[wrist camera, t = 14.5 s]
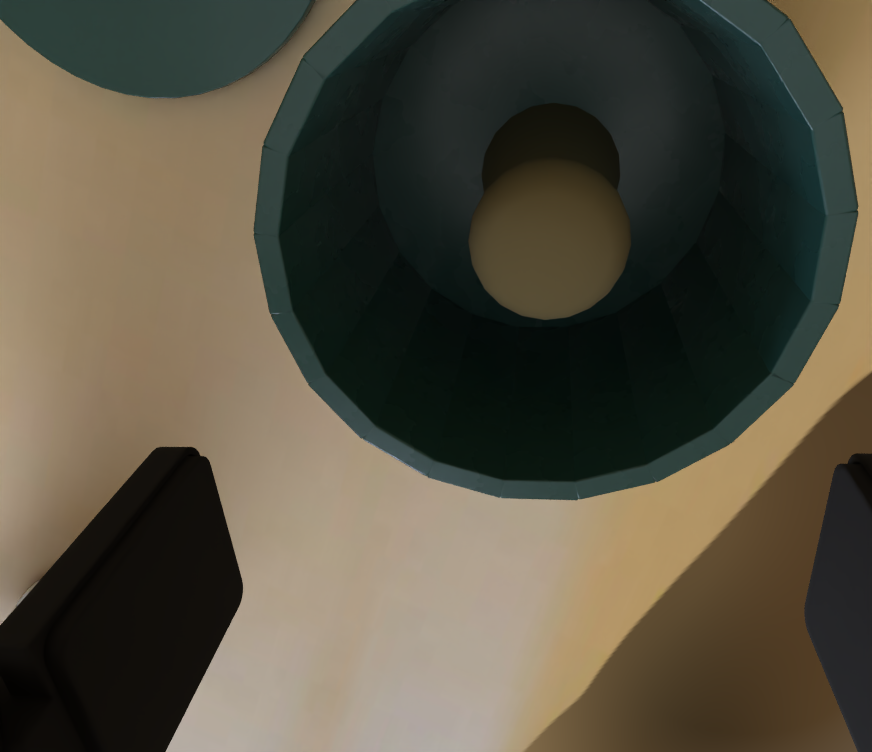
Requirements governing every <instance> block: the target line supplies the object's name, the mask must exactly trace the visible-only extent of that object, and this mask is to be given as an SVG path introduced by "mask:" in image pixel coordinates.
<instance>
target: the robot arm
mask: <svg viewBox="0 0 872 752" xmlns="http://www.w3.org/2000/svg"><path fill="white" fill-rule="evenodd" d="M242 594H243V583H242V578H241V574H240V571H239V567H238V563H237V560H236V556H235V552H234V549H233V545H232V541H231V538H230V534H229V530H228V527H227V523H226V519H225V516H224V512H223V508H222V505H221V501H220V497H219V494H218V490H217V486H216V483H215V479H214V475H213V472H212V468H211V465H210V462H209V460H208V459H207V458H206V457H204V456H200V454H199V452H198V451H197V450H196V449H195V448H193V447H158V448H156V449H155V450H153V451H152V452H151V454H150V455H149V456H148V457H147V458H146V459H145V460H144V462H143V463H142V464H141V465H140V466H139V467H138V468H137V470H136V471H135V472H134V473H133V474H132V475H131V476H130V478H129V479H128V480H127V481H126V482H125V483H124V484H123V486H122V487H121V488H120V489H119V490H118V491H117V492H116V494H115V495H114V496H113V497H112V498H111V499H110V501H109V502H108V503H107V504H106V505H105V506H104V507H103V509H102V510H101V511H100V512H99V513H98V514H97V515H96V517H95V518H94V519H93V520H92V521H91V522H90V523H89V525H88V526H87V527H86V528H85V529H84V530H83V531H82V533H81V534H80V535H79V536H78V537H77V538H76V539H75V541H74V542H73V543H72V544H71V545H70V546H69V547H68V549H67V550H66V551H65V552H64V553H63V554H62V555H61V557H60V558H59V559H58V560H57V561H56V562H55V563H54V565H53V566H52V567H51V568H50V569H49V570H48V571H47V573H46V574H45V575H44V576H43V577H42V578H41V580H39V581H37V582H36V583H34V584H33V585H32V586H31V587H30V588H29V589H28V590H27V591H26V592H25V594H24V595H23V596H22V597H21V598H20V600H19V601H18V603H17V605H16V608H15V609H14V610H13V612H12V613H11V614H10V615H9V616H8V617H7V618H6V620H5V621H4V622H3V623H2V624H1V625H0V752H165V751H166V749H167V747H168V745H169V744H170V742H171V740H172V738H173V736H174V734H175V732H176V730H177V728H178V726H179V724H180V722H181V720H182V718H183V716H184V714H185V712H186V710H187V708H188V706H189V704H190V702H191V700H192V698H193V696H194V694H195V692H196V690H197V688H198V686H199V684H200V682H201V680H202V678H203V676H204V674H205V672H206V670H207V668H208V667H209V665H210V663H211V661H212V659H213V657H214V655H215V653H216V651H217V649H218V647H219V645H220V643H221V641H222V639H223V637H224V635H225V633H226V631H227V629H228V627H229V625H230V623H231V621H232V619H233V617H234V615H235V613H236V611H237V609H238V607H239V605H240V603H241V599H242ZM805 622H806V627H807V630H808V633H809V635H810V638H811V640H812V643H813V645H814V647H815V650H816V652H817V655H818V657H819V659H820V662H821V664H822V667H823V669H824V672H825V674H826V676H827V679H828V681H829V683H830V686H831V688H832V691H833V693H834V696H835V698H836V700H837V703H838V705H839V707H840V710H841V712H842V715H843V717H844V719H845V722H846V724H847V727H848V729H849V731H850V734H851V736H852V739H853V741H854V743H855V746H856V748H857V751H858V752H872V454H854V455H852V456H851V458H850V459H849V461H848V464H839V465H837V467H836V468H835V471H834V474H833V478H832V483H831V488H830V492H829V497H828V501H827V506H826V511H825V515H824V520H823V524H822V529H821V533H820V538H819V543H818V547H817V552H816V556H815V561H814V566H813V571H812V575H811V579H810V584H809V588H808V593H807V597H806V602H805Z"/></svg>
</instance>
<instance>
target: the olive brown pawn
mask: <svg viewBox="0 0 872 752" xmlns="http://www.w3.org/2000/svg"><path fill="white" fill-rule="evenodd" d="M481 176H482V183H483V189H484V194H483V196H482V198H481V200H480V202H479V204H478V206H477V208H476V210H475V211H474V214H473V216H472V221H471V227H470V233H469V239H468V243H469V249H470V255H471V261H472V265H473V268H474V270H475V272H476V273H477V275H478V277H479V279H480V281H481V283H482V285H483V287H484V289H485V290H486V291H487V292H488V293H489V294H490V295H491V296H492V297H493V298H494V299H495V300H496V301H497V302H498V303H499V304H500V305H502V306H504V307H506V308H508V309H509V310H511V311H513V312H515V313H517V314H519V315H521V316H526V317H532V318H537V319H543V320H547V319H557V318H566V317H570V316H572V315H575V314H577V313H580V312H582V311H585V310H587V309H589V308H591V307H592V306H593V305H595V304H596V303H597V302H598V301H600V300H601V299H602V298H603V297H605V296H606V295H607V294H608V293H609V292H610V290H611V289H612V287H613V286H614V284H615V283H616V281H617V280H618V278H619V277H620V275H621V274H622V272H623V270H624V268H625V265H626V261H627V258H628V254H629V251H630V247H631V233H630V219H629V217H628V214H627V212H626V209H625V207H624V204H623V202H622V200H621V197H620V195H619V192H618V191H617V189H618V184H619V180H620V163H619V153H618V151H617V148H616V146H615V143H614V141H613V139H612V136H611V134H610V133H609V131H608V130H607V129H606V128H605V127H604V126H603V125H602V124H601V122H600V121H599V120H598V119H597V118H596V117H595V116H593V115H591V114H589V113H587V112H585V111H584V110H582V109H580V108H578V107H576V106H571V105H564V104H558V103H549V104H544V105H538V106H532V107H529V108H528V109H526V110H524V111H522V112H520V113H518V114H516V115H514V116H512V117H511V118H510V119H509V120H508V121H507V122H506V123H505V124H504V125H503V126H502V127H501V128H500V129H499V130H498V131H497V132H496V133H495V135H494V137H493V139H492V141H491V143H490V145H489V146H488V148H487V150H486V152H485V156H484V162H483V168H482V174H481Z"/></svg>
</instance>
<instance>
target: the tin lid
mask: <svg viewBox="0 0 872 752" xmlns="http://www.w3.org/2000/svg"><path fill="white" fill-rule="evenodd" d="M314 2H315V0H0V19H1V20H2V21H3V22H4V24H5V25H7V26H8V27H9V28H10V29H11V30H12V31H13V32H14V33H15V34H16V35H18V36H19V37H20V38H21V39H22V40H23V41H24V42H25V43H26V44H27V45H29V46H30V47H32V48H33V49H34V50H36V51H37V52H38V53H40V54H41V55H42V56H44V57H45V58H46V59H48V60H49V61H50V62H52V63H54V64H55V65H57V66H59V67H61V68H62V69H64V70H66V71H67V72H69V73H71V74H73V75H74V76H76V77H78V78H81V79H83V80H85V81H88V82H90V83H92V84H95V85H97V86H99V87H102V88H105V89H109V90H112V91H116V92H119V93H123V94H126V95H133V96H140V97H146V98H180V97H186V96H193V95H199V94H203V93H206V92H209V91H212V90H215V89H219V88H222V87H225V86H228V85H230V84H232V83H234V82H236V81H238V80H239V79H241V78H243V77H245V76H247V75H249V74H251V73H252V72H253V71H255V70H256V69H258V68H259V67H260V66H262V65H263V64H264V63H266V62H267V61H269V60H270V59H271V58H272V57H273V56H274V55H275V54H276V53H277V52H278V51H279V50H280V49H281V48H282V47H283V46H284V45H285V44H286V43H287V42H288V41H289V40H290V38H291V37H292V36H293V34H294V33H295V32H296V30H297V29H298V28H299V26H300V25H301V24H302V22H303V21H304V20H305V18H306V16H307V15H308V13H309V11H310V9H311V7H312V6H313V4H314Z"/></svg>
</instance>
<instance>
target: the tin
mask: <svg viewBox="0 0 872 752" xmlns="http://www.w3.org/2000/svg"><path fill="white" fill-rule="evenodd" d="M549 103H558V104H564V105H571V106H576V107H578V108H580V109H582V110H584V111H585V112H587V113H589V114H591V115H593V116H595V117H596V118H597V119H598V120H599V121H600V122H601V124H602V125H603V126H604V127H605V128H606V129H607V130H608V131H609V133H610V134H611V136H612V139H613V141H614V143H615V146H616V148H617V151H618V153H619V163H620V180H619V184H618V189H617V191H618V192H619V195H620V197H621V200H622V202H623V204H624V207H625V209H626V212H627V214H628V217H629V219H630V233H631V247H630V251H629V254H628V258H627V261H626V265H625V268H624V270H623V272H622V274H621V275H620V277H619V278H618V280H617V281H616V283H615V284H614V286H613V287H612V289H611V290H610V292H609V293H608V294H607V295H606V296H605V297H603V298H602V299H601V300H600V301H598V302H597V303H596V304H595V305H593V306H592V307H591V308H589V309H587V310H585V311H582V312H580V313H577V314H575V315H572V316H570V317H566V318H557V319H547V320H543V319H537V318H532V317H526V316H521V315H519V314H517V313H515V312H513V311H511V310H509V309H508V308H506V307H504V306H502V305H500V304H499V303H498V302H497V301H496V300H495V299H494V298H493V297H492V296H491V295H490V294H489V293H488V292H487V291H486V290H485V289H484V287H483V285H482V283H481V281H480V279H479V277H478V275H477V273H476V272H475V270H474V268H473V265H472V261H471V255H470V249H469V243H468V239H469V233H470V227H471V221H472V216H473V214H474V211H475V210H476V208H477V206H478V204H479V202H480V200H481V198H482V196H483V194H484V189H483V183H482V176H481V174H482V168H483V162H484V156H485V152H486V150H487V148H488V146H489V145H490V143H491V141H492V139H493V137H494V135H495V133H496V132H497V131H498V130H499V129H500V128H501V127H502V126H503V125H504V124H505V123H506V122H507V121H508V120H509V119H510V118H511V117H512V116H514V115H516V114H518V113H520V112H522V111H524V110H526V109H528V108H529V107H532V106H538V105H544V104H549ZM842 110H843V107H842V106H841V104H840V102H839V101H838V99H837V97H836V95H835V94H834V92H833V90H832V89H831V87H830V85H829V84H828V82H827V80H826V79H825V77H824V75H823V73H822V72H821V70H820V68H819V67H818V65H817V63H816V62H815V60H814V58H813V56H812V55H811V53H810V51H809V50H808V48H807V46H806V45H805V43H804V41H803V40H802V38H801V36H800V34H799V33H798V31H797V29H796V28H795V26H794V24H793V23H792V21H791V19H789V18H788V16H787V15H785V14H784V13H783V12H781V11H780V10H779V9H778V8H776V7H775V6H774V5H772V4H771V3H770V2H768V1H767V0H356V1H355V2H354V3H353V4H352V5H351V6H350V7H349V8H348V10H347V11H346V12H345V13H344V14H343V15H342V16H341V17H340V18H339V19H338V20H337V21H336V22H335V23H334V24H333V25H332V26H331V27H330V28H329V29H328V30H327V32H326V33H325V34H324V35H323V36H322V37H321V38H320V39H319V40H318V41H317V42H316V43H315V44H314V45H313V46H312V47H311V48H310V49H309V50H308V51H307V52H306V53H305V55H304V56H303V58H302V59H301V61H300V64H299V66H298V68H297V70H296V72H295V75H294V77H293V79H292V81H291V83H290V86H289V88H288V90H287V92H286V94H285V96H284V99H283V101H282V103H281V105H280V107H279V110H278V112H277V114H276V116H275V118H274V121H273V123H272V125H271V127H270V129H269V131H268V134H267V136H266V138H265V140H264V145H263V147H262V156H261V165H260V175H259V184H258V194H257V203H256V213H255V222H254V239H255V244H256V249H257V254H258V259H259V263H260V268H261V273H262V278H263V283H264V288H265V292H266V297H267V302H268V307H269V312H270V314H271V317H272V319H273V321H274V322H275V324H276V326H277V328H278V330H279V332H280V333H281V335H282V337H283V339H284V341H285V343H286V344H287V346H288V348H289V350H290V352H291V354H292V355H293V357H294V359H295V361H296V363H297V365H298V366H299V368H300V370H301V372H302V374H303V376H304V378H305V379H306V381H307V383H309V384H308V385H309V386H310V387H311V388H312V389H313V390H314V391H315V392H316V393H317V394H318V395H319V396H320V397H321V398H322V399H323V400H324V401H325V402H326V403H327V404H328V405H329V406H330V407H331V408H332V410H333V411H334V412H335V413H336V414H337V415H338V416H339V417H340V418H341V419H342V420H343V421H344V422H345V423H346V424H347V425H348V426H349V427H350V428H351V429H352V430H353V431H354V432H355V433H356V434H357V435H358V436H359V437H360V438H363V439H364V440H365V441H367V442H368V443H370V444H372V445H374V446H375V447H377V448H379V449H380V450H382V451H384V452H385V453H387V454H389V455H391V456H392V457H394V458H396V459H397V460H399V461H401V462H403V463H404V464H406V465H408V466H409V467H411V468H413V469H415V470H416V471H418V472H420V473H421V474H423V475H425V476H427V475H428V478H432V479H435V480H439V481H442V482H446V483H449V484H453V485H456V486H460V487H463V488H467V489H470V490H474V491H478V492H481V493H485V494H488V495H492V496H495V497H501V498H517V499H554V500H578V499H584V498H588V497H593V496H597V495H602V494H606V493H610V492H615V491H619V490H624V489H628V488H633V487H637V486H641V485H646V484H650V483H654V482H655V481H656V482H658V481H660V480H662V479H664V478H666V477H668V476H670V475H672V474H674V473H676V472H678V471H680V470H681V469H683V468H685V467H687V466H689V465H691V464H693V463H695V462H697V461H699V460H701V459H703V458H705V457H706V456H708V455H710V454H712V453H714V452H716V451H718V450H720V449H722V448H724V447H726V446H728V445H729V444H730V443H732V442H733V441H734V440H735V439H736V438H738V437H739V436H740V435H741V434H742V433H743V432H744V431H745V430H746V429H747V428H748V427H749V426H750V425H751V424H753V423H754V422H755V421H756V420H757V419H758V418H759V417H760V416H761V415H762V414H763V413H764V412H765V411H766V410H768V409H769V408H770V407H771V406H772V405H773V404H774V403H775V402H776V401H777V400H778V399H779V398H780V397H781V396H782V395H784V394H785V393H786V392H787V391H788V390H789V389H790V388H791V387H792V386H793V385H794V384H793V383H795V382H796V380H797V378H798V377H799V375H800V373H801V371H802V370H803V368H804V366H805V365H806V363H807V361H808V359H809V358H810V356H811V354H812V352H813V351H814V349H815V347H816V345H817V344H818V342H819V340H820V339H821V337H822V335H823V333H824V332H825V330H826V328H827V326H828V325H829V323H830V321H831V320H832V318H833V316H834V314H835V313H836V311H837V309H838V307H839V304H840V301H841V297H842V292H843V287H844V282H845V277H846V272H847V267H848V262H849V257H850V252H851V247H852V242H853V237H854V232H855V227H856V222H857V218H858V210H857V209H858V201H857V195H856V188H855V182H854V175H853V169H852V163H851V156H850V150H849V143H848V137H847V131H846V124H845V118H844V113H843V112H842Z"/></svg>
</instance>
